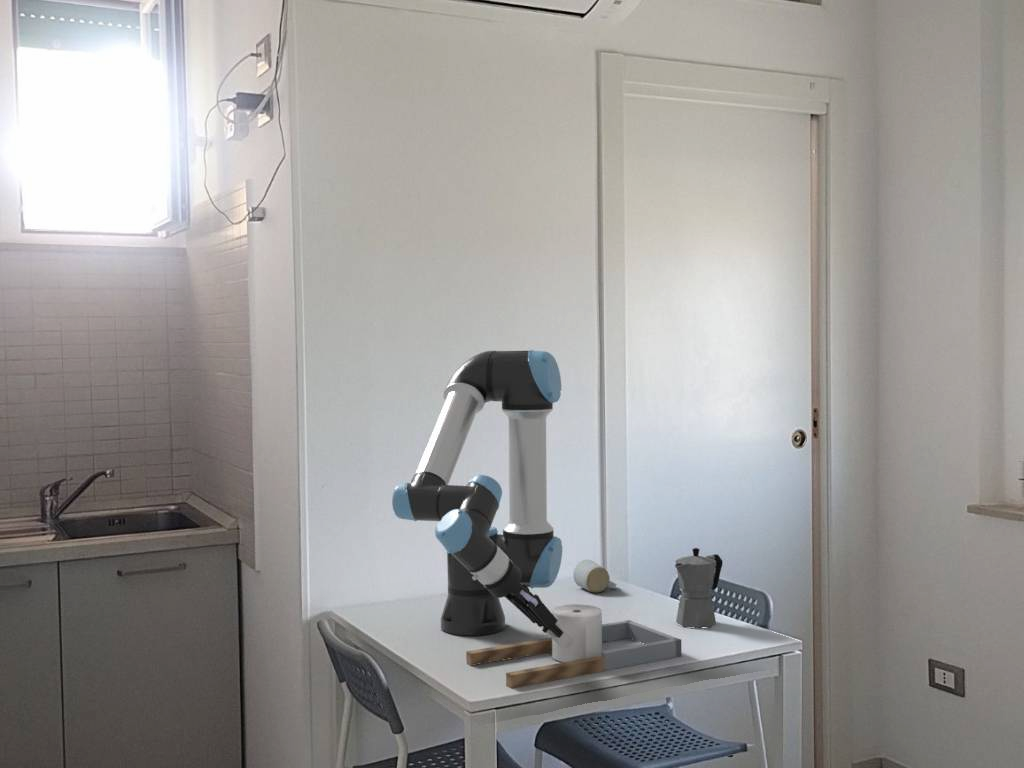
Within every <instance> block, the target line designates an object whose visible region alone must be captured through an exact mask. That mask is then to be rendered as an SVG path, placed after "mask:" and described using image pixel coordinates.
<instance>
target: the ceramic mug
mask: <svg viewBox="0 0 1024 768" xmlns="http://www.w3.org/2000/svg"><path fill="white" fill-rule="evenodd" d="M572 575H573V580H574V582H575V584H576V585H577V586H578V587H579V588H582V589H584V590H587V591H589V592H590V593H596V594H597V593H602V592H604V591H605V590H606V589H607V588H610V589H612V590H615V589H616V587H617V583H616V582H614V581H612V580H610V574H609V572H608V570H607V569H606V568H605V567H603V566H602V565H600V564H598V563H597V562H595V561H593V560H591V559H584V560H581V561H579V562H578V563H577V564H576V565H575V567H574V569H573V574H572Z"/></svg>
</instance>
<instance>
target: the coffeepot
mask: <svg viewBox="0 0 1024 768" xmlns="http://www.w3.org/2000/svg"><path fill="white" fill-rule="evenodd" d="M691 551H692V554H693V555H689V556H684V557H683V556H681V557H679V558H678V559H676V560H675V564H674V567H675V568H676V572H677V579H678V585H679V588H680V589H681V595H680V596H679V600H678V601H679V603H678V608H677V615H676V620H675V622H677V623H678V624H680V625H682V626H686V627H694V628H702V627H710V628H712V627H711V626H713V625H714V624H715V623H717V620H716V615H715V609H714V604H713V598H712V597H711V590H715V589H717V588H718V584H719V580H720V577H721V576H720V575H721V572H722V567H723V559H722V558H721V557H720V555H719V554H710V555H706V556H701V555H700V554H699V553H700V548H698V547H695V548H692V549H691ZM677 623H676V624H677ZM678 624H677V625H678ZM680 625H679V626H680ZM682 626H681V627H682ZM714 626H715V625H714ZM714 626H713V627H714ZM686 627H685V628H686Z"/></svg>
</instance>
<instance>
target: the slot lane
mask: <svg viewBox="0 0 1024 768" xmlns="http://www.w3.org/2000/svg"><path fill="white" fill-rule="evenodd" d="M465 653H466V662H467V663H469V664H470V665H472V666H474V665H473V664H478V663H484V664H486V663H485V662H489V661H496V662H498V661H497V660H501V661H504V660H503V659H507V660H509V659H508V658H513V659H515V658H514V657H519V658H522V657H521V656H524V657H528V656H527V655H530V656H535V655H534V654H536V655H540V653H542V654H547V653H552V638H551V637H545V638H540V639H538V638H537V639H534V640H533V639H532V640H527V641H522V642H516V643H509V644H504V645H496V646H492V647H490V646H489V647H484V648H478V649H474V650H473V649H472V650H467V651H466V652H465ZM467 663H466V664H467ZM469 664H468V665H469ZM470 665H469V666H470ZM478 665H479V664H478ZM605 671H606V670H605V658H603V657H601V656H596V657H591V658H585V659H580V660H574V661H569V662H559V663H554V664H548V665H542V666H536V667H532V668H531V667H530V668H526V669H520V670H514V671H509V672H505V685H506V687H508V688H509V689H514V688H519V687H524V686H525V687H527V686H530V685H536V684H540V683H545V682H547V683H548V682H552V681H556V680H563V679H567V678H572V677H579V676H585V675H589V674H593V673H599V672H605Z"/></svg>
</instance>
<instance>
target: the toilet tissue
mask: <svg viewBox="0 0 1024 768" xmlns="http://www.w3.org/2000/svg"><path fill="white" fill-rule="evenodd" d="M602 612H603V610H602V608H600V607H598V606H594V605H590V604H589V605H588V604H578V603H576V604H575V603H573V604H563V605H557V606H555V607H553V608H552V609H551V613H552V614H553V615H554V617H555V618H556V619H557V620H558V621H557V622H556V623H557V624H558V625H559V626H560V627H561V628H562V629H563V630H564V631H565V632H566V633H567V634H568V635H569V636H570V637H571V638H572V641H571V642H570V643H569V645H568V646H567V647H566V649H563V648H561V647H560V646H559V645H558V644H557V643H556V642H555V641H554V640H553V639H552V652H551V657H552V659H554V660H556V661H558V662H560V663H563V662H569V661H574V660H580V659H585V658H591V657H596V656H601V652H602V651H603V642H602V624H603V613H602Z"/></svg>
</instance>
